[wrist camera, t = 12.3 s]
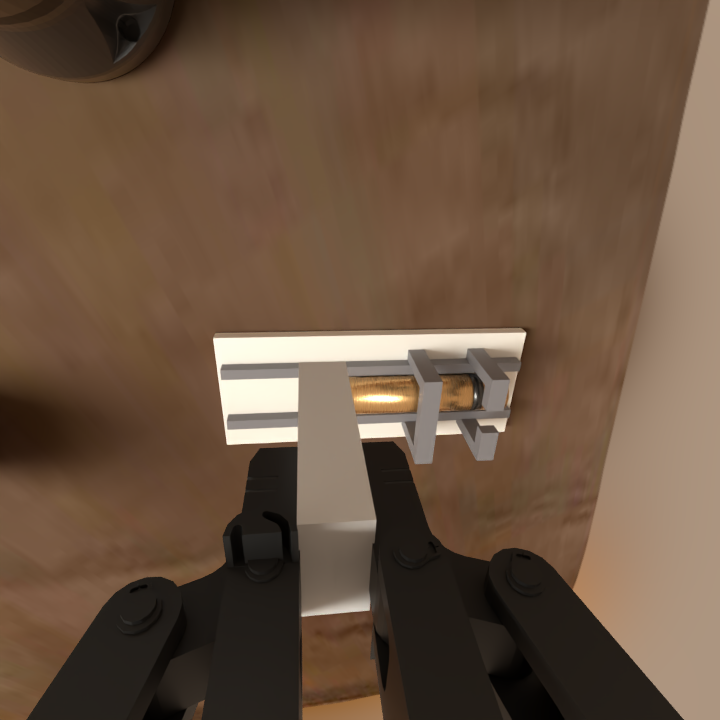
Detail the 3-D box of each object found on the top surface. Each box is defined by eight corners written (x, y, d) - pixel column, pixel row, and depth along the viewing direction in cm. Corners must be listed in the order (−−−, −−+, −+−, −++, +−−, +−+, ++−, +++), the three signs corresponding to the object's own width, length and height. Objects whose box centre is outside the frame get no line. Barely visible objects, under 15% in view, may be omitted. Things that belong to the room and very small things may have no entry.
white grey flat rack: (228, 437, 46) (216, 488, 39) (215, 332, 41) (198, 371, 34) (499, 425, 50) (530, 470, 43) (520, 327, 44) (560, 362, 38)
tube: (340, 406, 44) (343, 420, 41) (340, 372, 43) (343, 383, 40) (491, 402, 46) (507, 415, 42) (494, 368, 45) (510, 379, 42)
